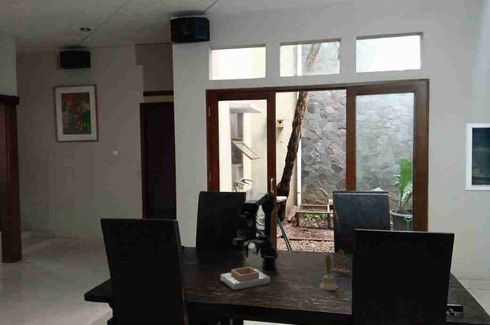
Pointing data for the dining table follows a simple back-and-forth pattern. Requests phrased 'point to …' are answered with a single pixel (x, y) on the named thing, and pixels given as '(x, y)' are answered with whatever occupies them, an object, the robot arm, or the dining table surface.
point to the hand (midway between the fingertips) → (251, 256)
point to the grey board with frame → (244, 278)
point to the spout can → (251, 255)
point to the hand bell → (328, 277)
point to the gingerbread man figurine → (342, 271)
